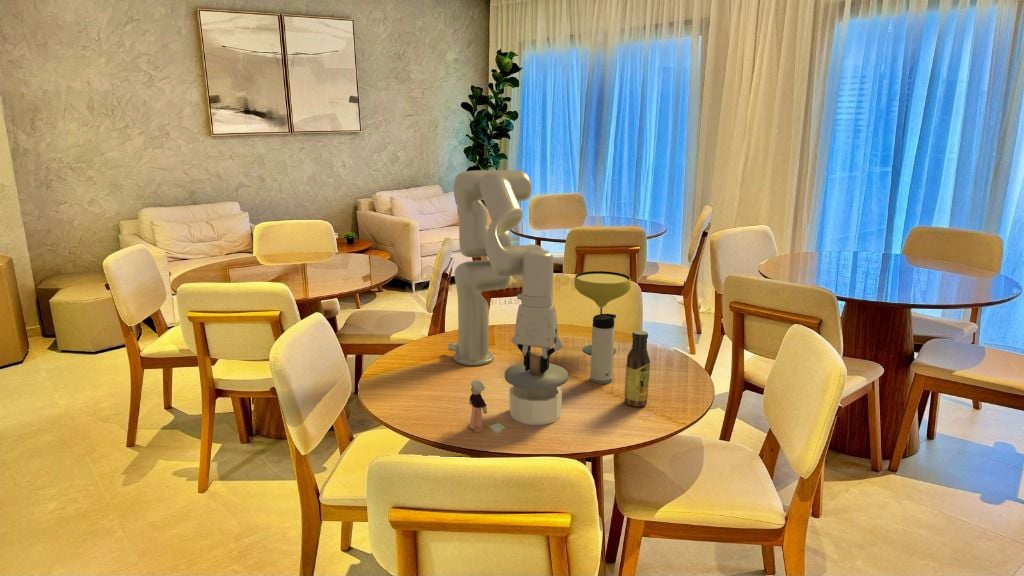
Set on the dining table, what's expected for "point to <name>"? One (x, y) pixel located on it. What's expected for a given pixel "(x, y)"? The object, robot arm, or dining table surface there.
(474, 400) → the grandmother figurine
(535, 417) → the bowl
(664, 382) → the dining table surface
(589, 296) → the cocktail glass
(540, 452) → the dining table surface
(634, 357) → the sauce bottle
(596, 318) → the travel mug
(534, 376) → the lid
